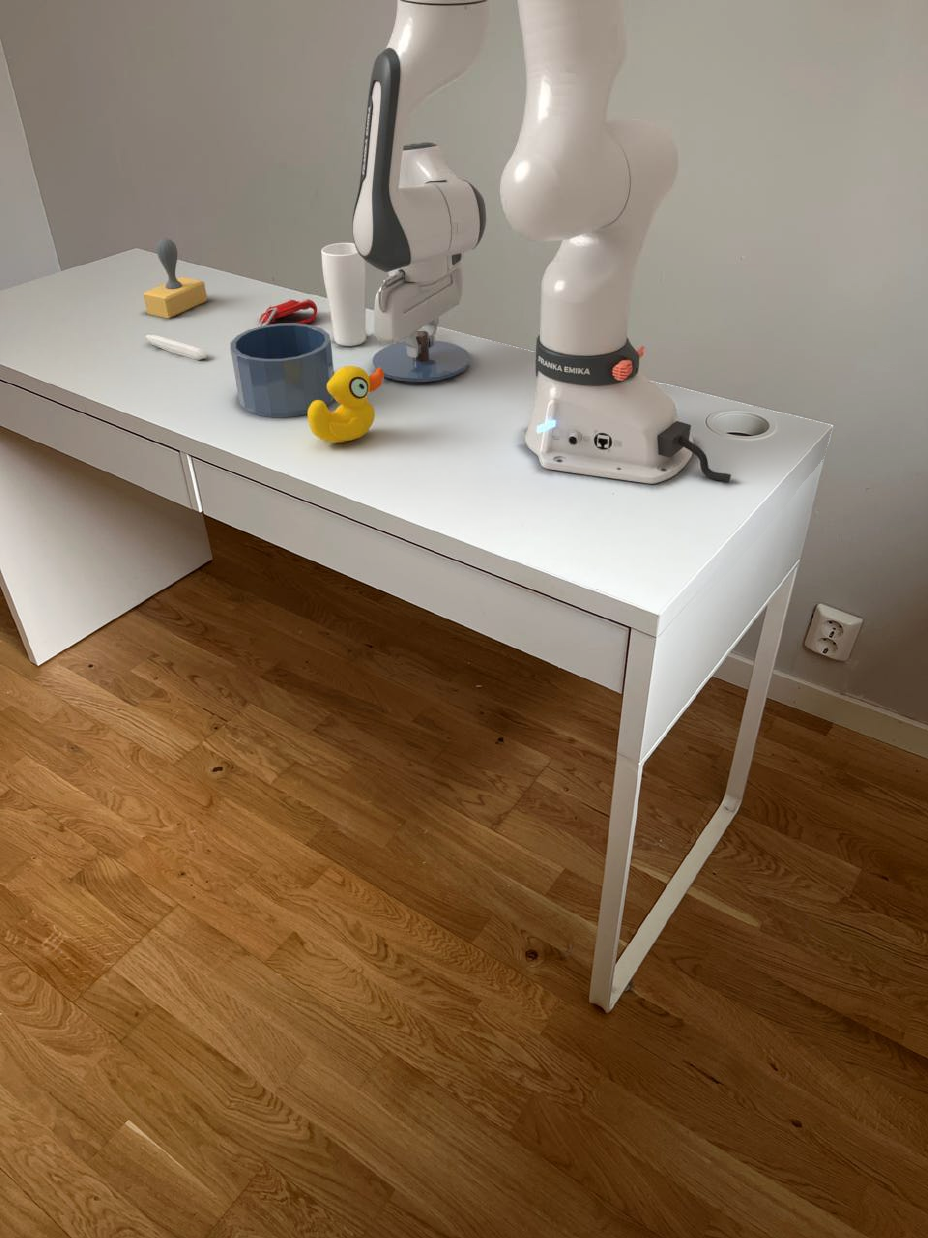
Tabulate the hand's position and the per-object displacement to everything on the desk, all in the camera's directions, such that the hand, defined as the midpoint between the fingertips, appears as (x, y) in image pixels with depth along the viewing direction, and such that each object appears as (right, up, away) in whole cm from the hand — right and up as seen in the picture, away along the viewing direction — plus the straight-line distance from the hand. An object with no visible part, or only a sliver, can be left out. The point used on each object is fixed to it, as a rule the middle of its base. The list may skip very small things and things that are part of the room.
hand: (421, 350), depth 157 cm
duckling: (-9, -17, -18) cm, 26 cm away
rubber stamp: (-45, +14, +24) cm, 53 cm away
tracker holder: (-25, +9, +17) cm, 31 cm away
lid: (0, -1, +1) cm, 2 cm away
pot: (-20, -8, -7) cm, 22 cm away
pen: (-40, +2, +8) cm, 41 cm away
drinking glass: (-12, +4, +10) cm, 16 cm away
